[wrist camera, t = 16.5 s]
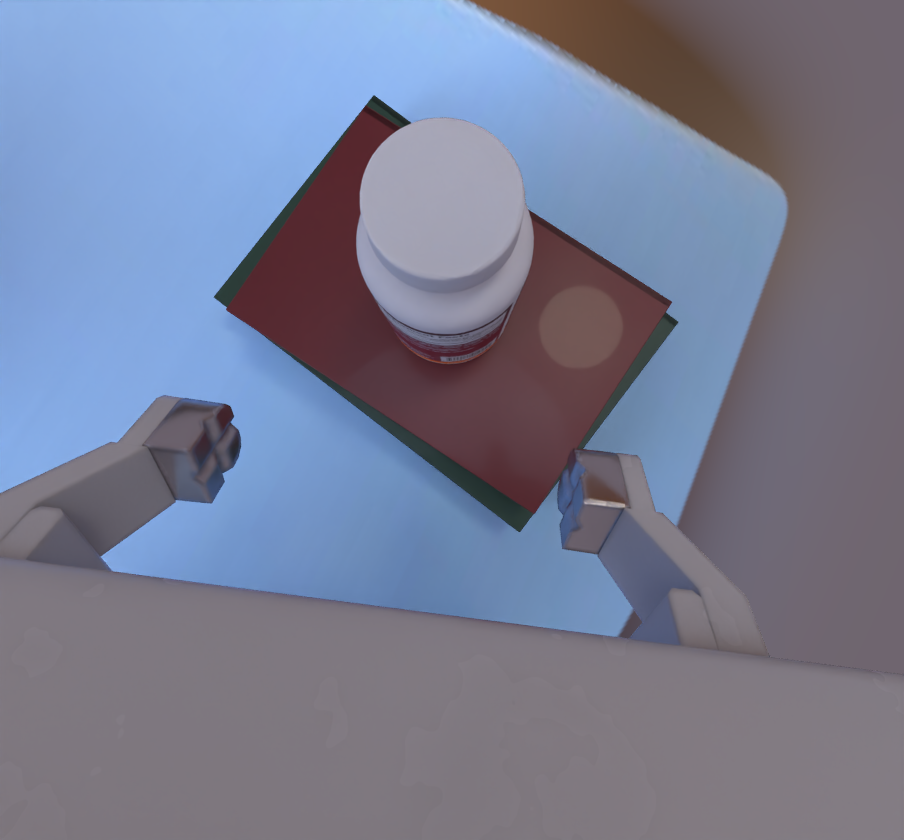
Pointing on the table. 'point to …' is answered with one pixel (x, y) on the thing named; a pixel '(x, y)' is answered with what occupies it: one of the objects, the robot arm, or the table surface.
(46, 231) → the table surface
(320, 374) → the lower book
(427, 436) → the upper book
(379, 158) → the pill bottle
